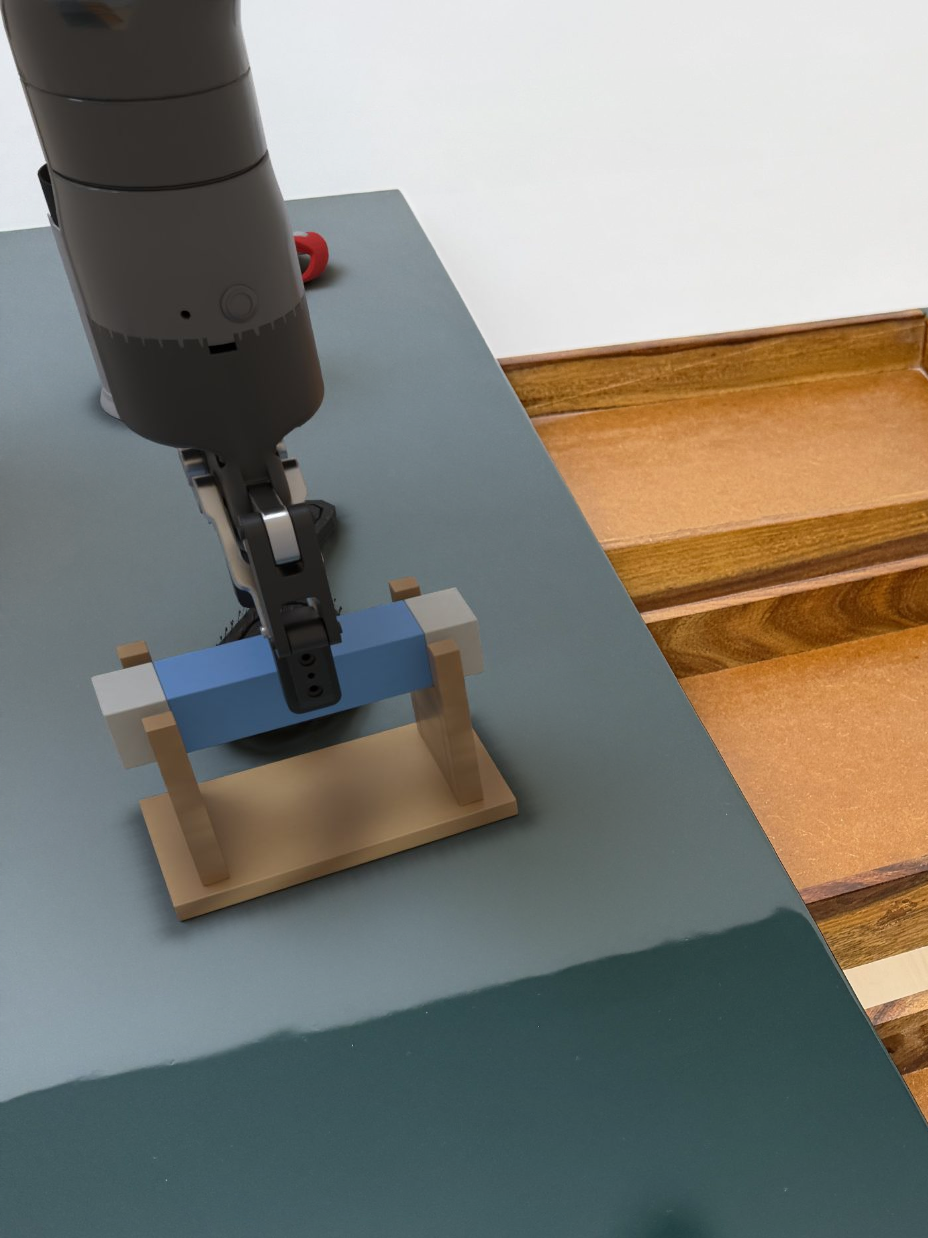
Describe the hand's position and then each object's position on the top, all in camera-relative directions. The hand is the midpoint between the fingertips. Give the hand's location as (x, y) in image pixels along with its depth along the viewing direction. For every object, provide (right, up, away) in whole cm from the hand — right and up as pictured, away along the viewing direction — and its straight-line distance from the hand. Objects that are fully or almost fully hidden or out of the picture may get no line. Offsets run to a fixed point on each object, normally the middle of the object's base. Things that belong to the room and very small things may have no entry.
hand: (288, 651), depth 62 cm
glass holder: (-21, +24, +38) cm, 49 cm away
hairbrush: (-7, +4, +18) cm, 20 cm away
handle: (0, -2, +2) cm, 3 cm away
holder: (0, -7, +7) cm, 10 cm away
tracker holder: (-24, +37, +51) cm, 68 cm away
